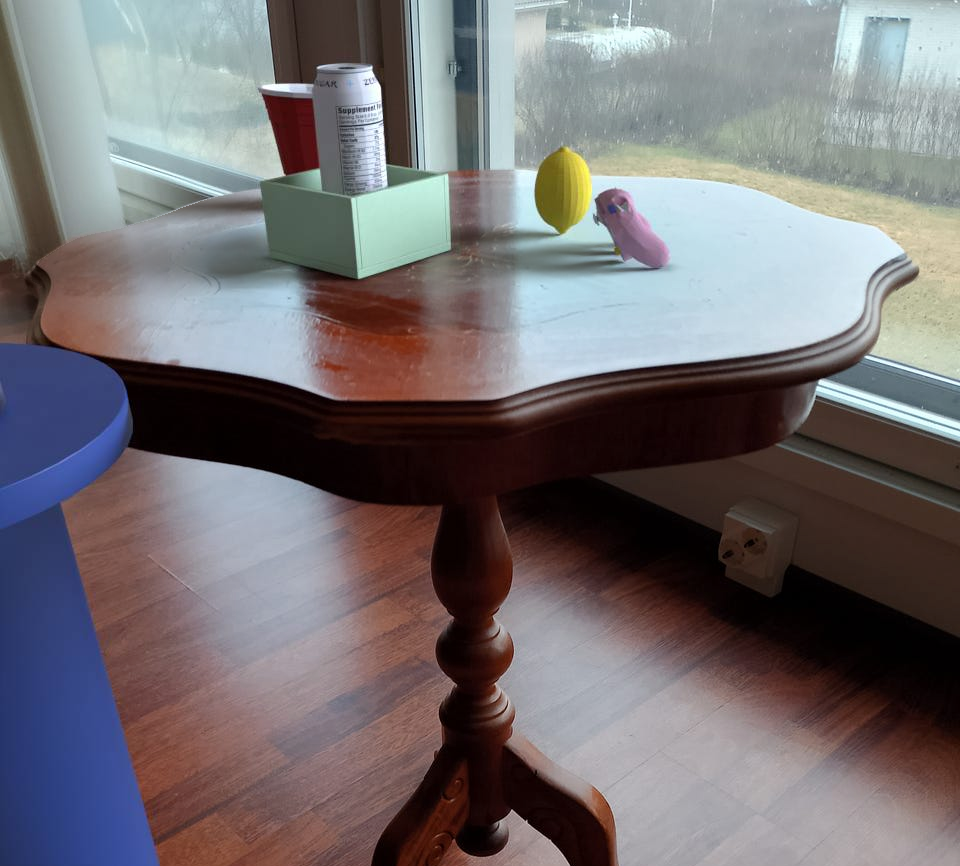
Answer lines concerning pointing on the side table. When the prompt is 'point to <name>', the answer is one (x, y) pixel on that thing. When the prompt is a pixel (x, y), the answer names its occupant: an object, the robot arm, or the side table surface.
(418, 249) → the bin
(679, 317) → the side table surface
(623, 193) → the pink toy bird
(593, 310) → the side table surface
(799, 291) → the side table surface
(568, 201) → the lemon
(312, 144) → the plastic cup
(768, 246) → the side table surface
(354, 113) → the energy drink can
